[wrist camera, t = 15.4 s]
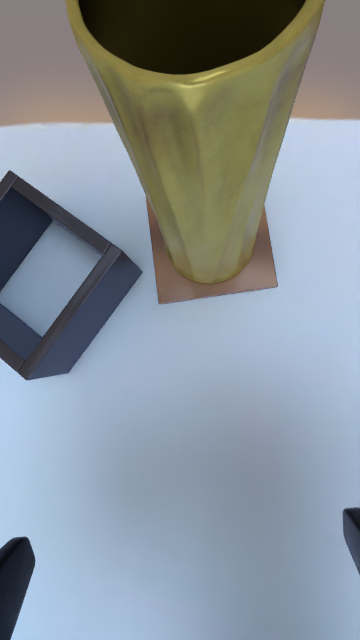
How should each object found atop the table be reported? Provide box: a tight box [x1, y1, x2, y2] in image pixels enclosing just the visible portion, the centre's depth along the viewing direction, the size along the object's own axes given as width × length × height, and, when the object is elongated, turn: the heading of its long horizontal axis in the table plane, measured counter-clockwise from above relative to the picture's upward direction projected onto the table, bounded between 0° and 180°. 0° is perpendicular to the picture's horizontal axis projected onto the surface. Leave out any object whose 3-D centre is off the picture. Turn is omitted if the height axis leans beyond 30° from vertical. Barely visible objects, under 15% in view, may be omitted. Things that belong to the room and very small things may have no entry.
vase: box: [65, 0, 325, 283], centre depth 12 cm, size 6×6×14 cm
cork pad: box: [146, 196, 278, 304], centre depth 20 cm, size 8×8×1 cm
